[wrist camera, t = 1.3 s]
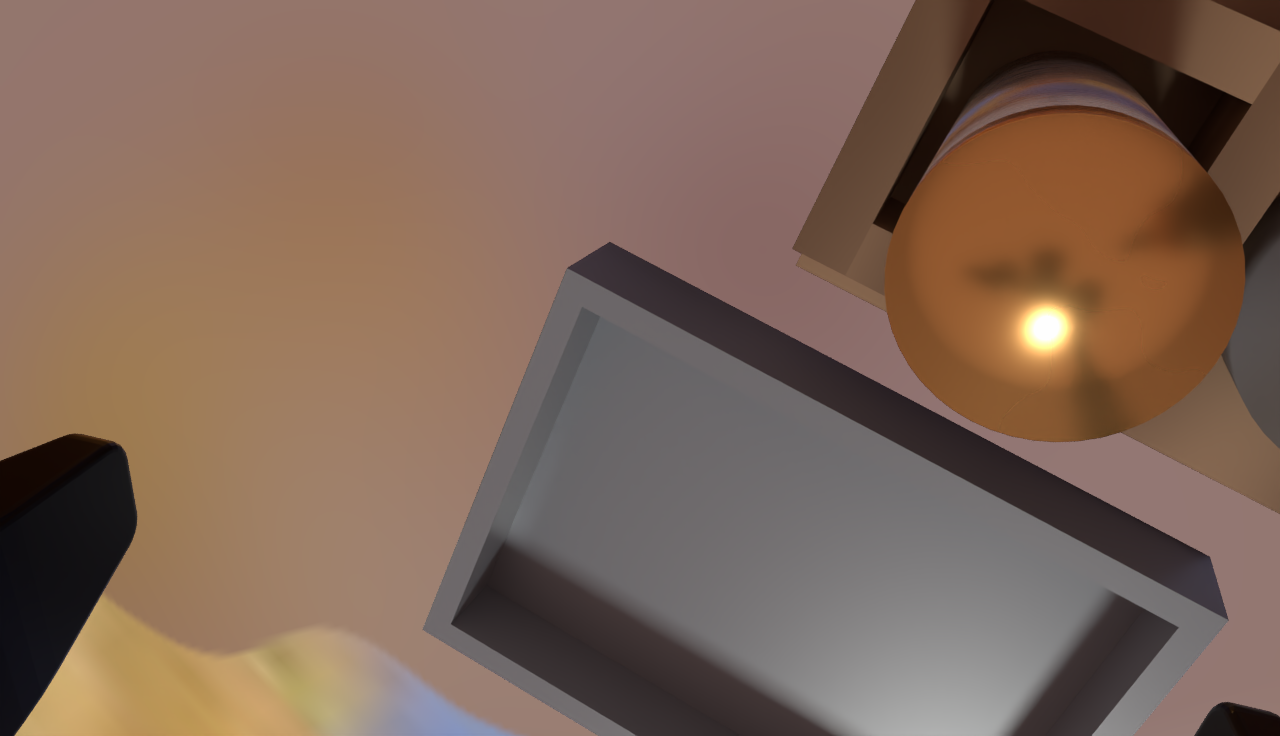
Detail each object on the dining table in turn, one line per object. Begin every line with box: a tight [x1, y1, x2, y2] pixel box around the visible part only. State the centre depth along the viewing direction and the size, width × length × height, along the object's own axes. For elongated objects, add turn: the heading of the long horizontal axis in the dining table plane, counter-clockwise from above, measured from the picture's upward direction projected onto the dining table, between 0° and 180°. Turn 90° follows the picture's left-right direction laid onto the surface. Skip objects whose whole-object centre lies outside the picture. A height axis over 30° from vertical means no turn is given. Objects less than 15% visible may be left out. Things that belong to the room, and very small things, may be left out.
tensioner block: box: [793, 0, 1280, 514], centre depth 18 cm, size 12×8×5 cm, turn 66°
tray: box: [423, 242, 1228, 736], centre depth 25 cm, size 14×10×2 cm
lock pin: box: [884, 51, 1245, 442], centre depth 15 cm, size 3×3×10 cm
